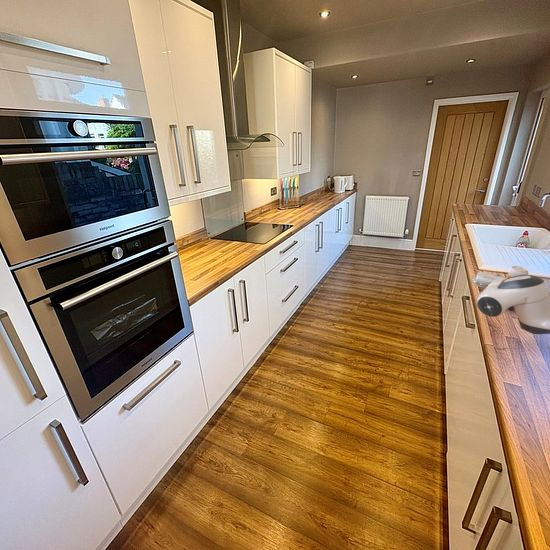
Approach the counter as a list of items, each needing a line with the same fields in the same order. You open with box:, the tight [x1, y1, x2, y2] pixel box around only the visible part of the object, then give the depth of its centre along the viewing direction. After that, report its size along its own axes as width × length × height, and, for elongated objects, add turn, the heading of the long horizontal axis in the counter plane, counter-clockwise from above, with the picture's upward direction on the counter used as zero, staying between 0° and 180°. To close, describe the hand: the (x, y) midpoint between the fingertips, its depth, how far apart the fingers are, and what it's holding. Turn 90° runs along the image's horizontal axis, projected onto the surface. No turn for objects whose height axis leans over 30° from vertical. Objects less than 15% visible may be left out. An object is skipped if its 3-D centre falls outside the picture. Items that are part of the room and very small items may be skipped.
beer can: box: [506, 265, 529, 278], centre depth 121 cm, size 6×6×15 cm
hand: (512, 279), depth 111 cm, fingers open, 8 cm apart
